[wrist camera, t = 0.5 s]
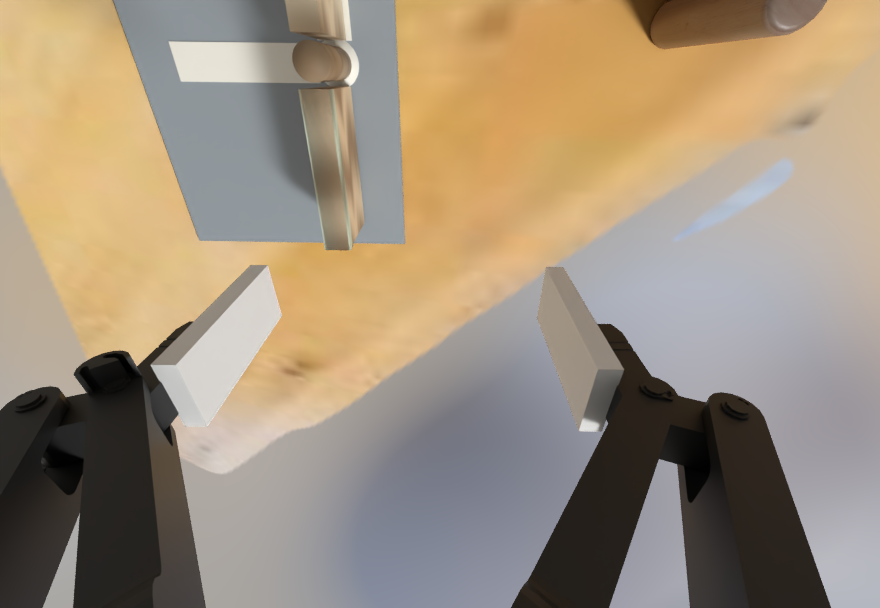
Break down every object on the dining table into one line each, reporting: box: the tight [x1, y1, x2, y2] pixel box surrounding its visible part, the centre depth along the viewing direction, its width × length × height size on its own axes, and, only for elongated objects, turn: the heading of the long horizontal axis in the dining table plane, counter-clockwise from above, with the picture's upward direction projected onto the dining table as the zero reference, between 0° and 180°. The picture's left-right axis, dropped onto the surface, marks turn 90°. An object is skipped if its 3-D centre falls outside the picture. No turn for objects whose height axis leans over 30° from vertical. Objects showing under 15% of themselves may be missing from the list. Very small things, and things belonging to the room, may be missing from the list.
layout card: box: [113, 0, 405, 244], centre depth 31 cm, size 32×22×1 cm
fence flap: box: [298, 86, 365, 250], centre depth 31 cm, size 12×2×7 cm, turn 179°
